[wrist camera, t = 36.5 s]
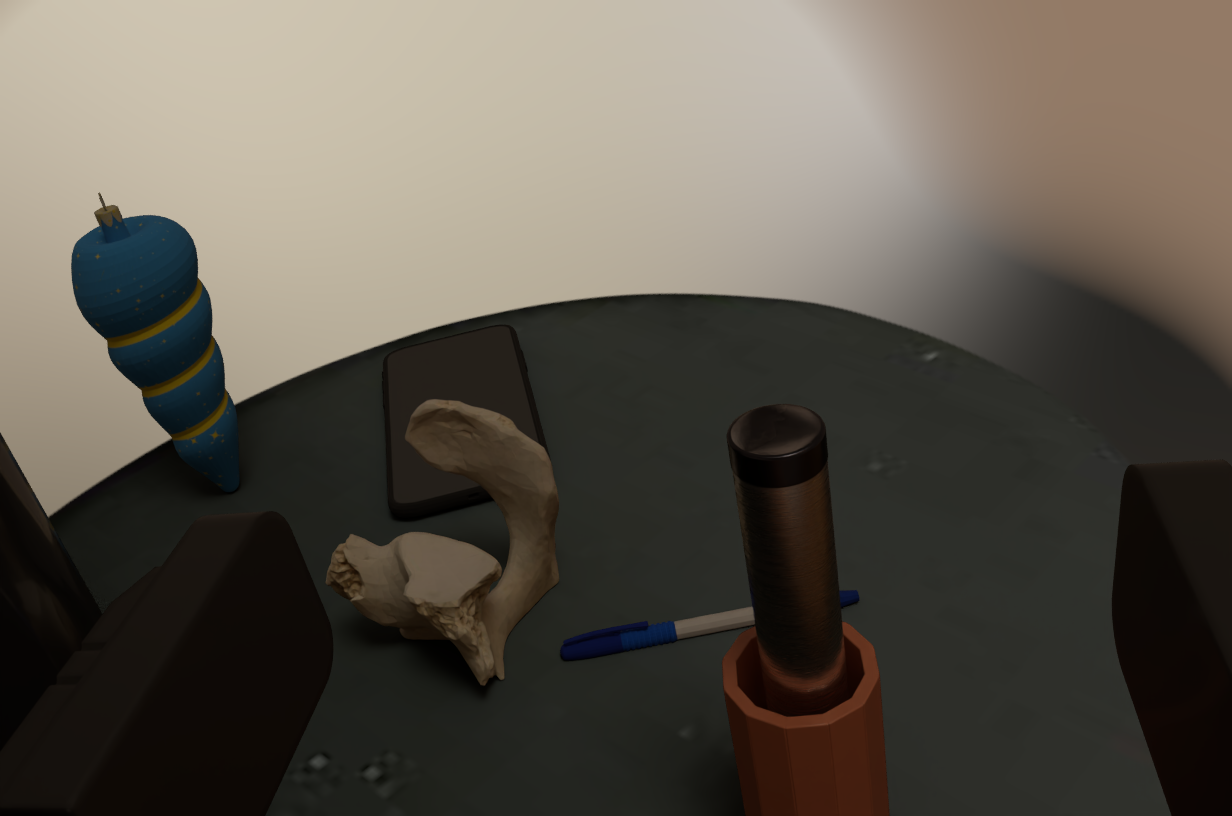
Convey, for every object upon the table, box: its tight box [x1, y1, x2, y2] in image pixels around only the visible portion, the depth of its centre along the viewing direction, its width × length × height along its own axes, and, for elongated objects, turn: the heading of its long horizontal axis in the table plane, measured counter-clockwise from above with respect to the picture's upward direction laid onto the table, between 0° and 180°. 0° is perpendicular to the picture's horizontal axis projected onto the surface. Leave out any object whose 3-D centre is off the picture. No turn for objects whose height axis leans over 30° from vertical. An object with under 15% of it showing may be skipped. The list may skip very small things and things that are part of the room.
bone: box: [325, 399, 559, 685], centre depth 38 cm, size 9×6×10 cm
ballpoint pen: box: [560, 590, 859, 661], centre depth 38 cm, size 10×1×1 cm, turn 96°
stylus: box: [727, 404, 849, 717], centre depth 26 cm, size 2×2×14 cm
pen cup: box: [722, 622, 890, 816], centre depth 28 cm, size 4×4×7 cm
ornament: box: [71, 193, 239, 492], centre depth 47 cm, size 5×5×15 cm
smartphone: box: [382, 325, 551, 518], centre depth 53 cm, size 7×1×15 cm
